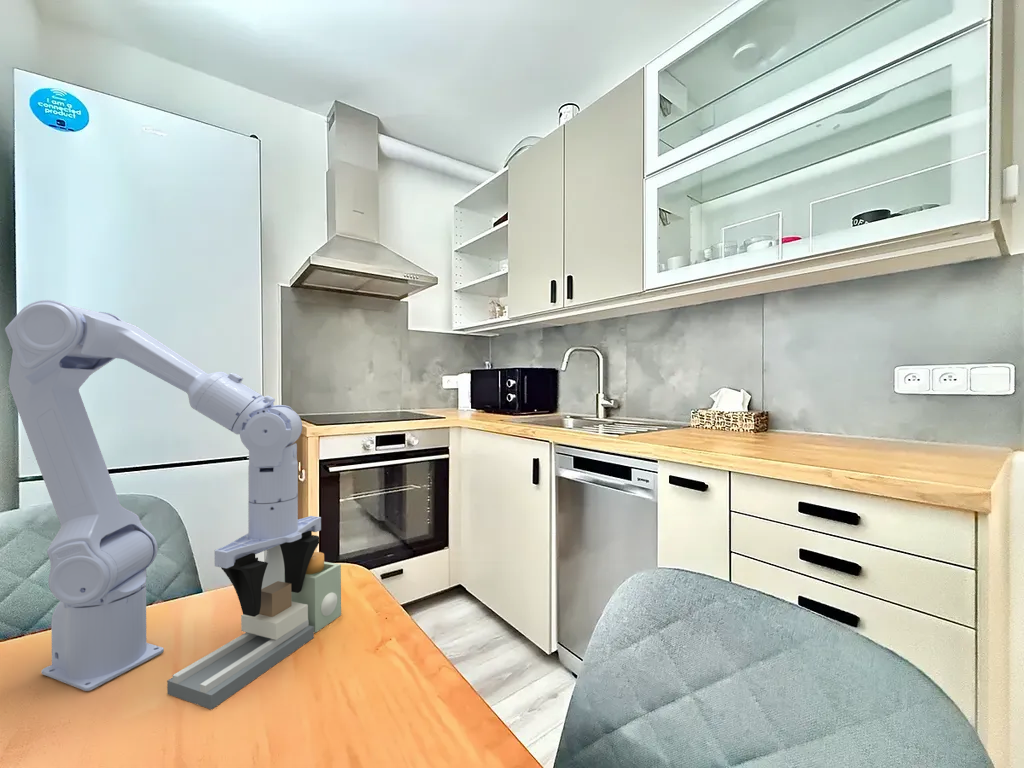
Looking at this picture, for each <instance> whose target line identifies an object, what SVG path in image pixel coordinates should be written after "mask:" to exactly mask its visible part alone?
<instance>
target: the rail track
mask: <svg viewBox="0 0 1024 768" xmlns="http://www.w3.org/2000/svg"><path fill="white" fill-rule="evenodd" d="M314 634H315V633H314V627H313V626H309V623H308V620H307V621H305V622H303V623H302V624H300V625H299V626H297V627H296V628H294V629H293V630H291V631H289V632H288V633H286V634H285V635H283V636H282V637H280V638H279V639H277V640H275V639H271V638H267V637H263V636H259V635H255V634H251V633H247V632H243V634H241V635H239V636H238V637H235V639H231V641H229V642H227V643H225V644H224V645H222V646H220V647H219V648H217V649H215V650H213V651H212V652H210V653H208V654H206V655H205V656H203V657H201V658H199V659H198V660H196V661H194V662H193V663H191V664H189V665H187V666H185V667H184V668H183V669H181V670H179V671H177V672H176V673H174V674H172V677H171V678H169V679H168V680H167V681H166V682H167V686H166V688H167V689H166V690H167V691H166V692H167V693H166V694H167V695H169V696H172V697H175V698H178V699H180V700H184V701H186V702H188V703H192V704H195V705H196V706H197V705H198V706H200V707H202V708H203V707H204V708H206V709H208V710H213V709H215V708H216V707H217V706H218V705H219V706H220V705H221V703H224V701H226V700H227V699H229V698H230V697H232V696H233V695H235V694H236V693H238V692H239V691H240V690H241V689H243V688H244V687H246V686H247V685H249V684H250V683H252V682H253V681H254V680H256V679H258V677H260V676H262V675H263V674H264V673H266V672H267V671H269V670H270V669H272V668H273V667H275V665H277V664H279V663H280V662H282V661H283V660H285V658H287V657H289V656H290V655H292V654H293V653H294V652H296V651H297V650H299V649H300V648H302V647H303V646H304V645H306V644H307V643H308V642H310V641H311V640H313V639H314V638H315V636H314Z"/></svg>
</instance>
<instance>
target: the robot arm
mask: <svg viewBox="0 0 1024 768" xmlns="http://www.w3.org/2000/svg"><path fill="white" fill-rule="evenodd" d="M4 331H5V334H6V336H7V338H8V340H9V345H10V347H11V349H12V354H11V360H10V368H9V375H8V387H9V390H10V393H11V396H12V399H13V401H14V404H15V406H16V409H17V411H18V415H19V417H20V419H21V422H22V425H23V428H24V430H25V433H26V436H27V438H28V439H27V440H28V441H29V444H30V446H31V449H32V452H33V454H34V458H35V460H36V462H37V465H38V468H39V470H40V473H41V475H42V479H43V481H44V484H45V487H46V489H47V491H48V492H47V493H48V494H49V497H50V500H51V502H52V505H53V509H54V510H55V513H56V514H55V515H56V516H57V518H58V522H59V523H60V524H59V525H60V527H59V530H58V531H57V533H56V535H55V536H54V538H53V539H52V541H51V543H50V544H49V546H48V548H47V550H46V553H47V555H48V558H49V562H50V570H49V575H48V579H47V581H48V583H47V584H48V588H49V589H50V592H51V594H52V595H53V597H55V598H56V599H57V601H60V602H59V603H58V604H57V605H56V606H55V609H54V611H53V613H52V616H51V623H50V624H51V625H50V626H51V664H50V665H48V666H46V667H44V668H42V669H41V671H40V672H41V674H42V675H44V676H47V677H49V678H51V679H54V680H57V681H59V682H61V683H65V684H67V685H68V686H71V687H75V688H77V689H79V690H83V691H85V692H89V691H92V690H94V689H96V688H98V687H99V686H101V685H103V684H106V683H107V682H109V681H111V680H113V679H115V678H117V677H118V676H121V675H122V674H124V673H127V672H128V671H130V670H132V669H134V668H136V667H138V666H139V665H141V664H143V663H146V662H147V661H149V660H151V659H153V658H155V657H156V656H159V655H161V654H162V653H163V652H164V651H165V650H164V647H162V646H158V645H155V644H153V643H149V642H147V569H148V568H149V567H150V566H151V565H152V564H153V563H154V562H155V559H156V558H157V555H158V550H159V549H158V546H159V545H158V542H157V540H156V537H155V535H153V534H152V533H151V532H150V531H149V530H148V529H146V528H145V527H144V526H143V524H142V522H141V519H140V516H139V515H138V514H136V513H135V512H134V511H131V510H129V509H127V508H125V507H124V506H122V504H120V503H121V502H120V500H119V498H118V497H119V496H118V495H117V491H116V489H115V486H114V484H113V483H114V482H113V481H112V478H111V476H110V473H109V470H108V468H107V465H106V461H105V459H104V457H103V453H102V450H101V448H100V445H99V443H98V441H97V440H98V439H97V438H96V434H95V432H94V428H93V426H92V424H91V421H90V418H89V416H88V412H87V410H86V406H85V405H84V402H83V400H82V399H83V398H82V396H81V393H80V388H81V387H82V386H83V385H84V383H85V382H86V381H87V380H88V379H89V377H90V376H91V375H93V374H94V373H96V372H97V371H99V370H100V369H102V368H104V367H105V366H107V365H108V364H109V363H110V362H111V363H112V361H114V360H115V359H120V360H124V361H127V362H129V363H131V364H132V365H134V366H136V367H138V368H140V369H142V370H144V371H146V372H148V373H149V374H150V375H151V374H152V375H153V376H155V377H157V378H159V379H160V380H163V381H164V382H166V383H168V384H170V385H172V386H173V387H175V388H176V389H177V388H178V389H179V390H181V391H183V392H184V393H186V394H187V397H188V398H187V399H188V402H189V406H190V408H191V409H192V410H195V411H197V412H198V413H199V414H202V415H203V416H204V417H206V418H208V419H209V420H212V421H213V422H215V423H217V424H219V425H220V426H222V427H223V428H225V429H227V430H228V431H230V432H232V433H233V434H235V435H239V437H240V441H241V443H242V445H243V446H244V447H245V448H246V449H247V450H248V479H247V480H248V500H247V501H248V503H247V504H248V506H247V508H248V512H247V513H248V515H247V517H248V521H247V522H248V527H247V528H248V533H246V534H244V535H243V536H240V537H239V538H237V539H236V540H234V541H233V540H232V541H231V542H229V543H228V544H226V545H224V546H222V547H219V548H217V549H215V550H214V567H217V568H221V570H222V571H223V572H224V574H225V575H226V577H227V578H228V579H229V581H230V582H231V584H232V586H233V588H234V590H235V593H236V595H237V598H238V600H239V601H238V602H239V604H240V608H241V612H242V615H243V614H245V615H249V616H253V617H255V616H257V615H258V614H259V613H260V608H261V589H262V582H263V577H264V574H265V570H266V568H267V565H268V563H267V562H265V561H261V560H259V557H256V555H257V554H260V553H262V552H266V551H267V550H268V549H270V548H273V547H275V546H278V545H280V547H281V551H282V555H283V560H284V568H285V583H291V592H295V593H299V592H300V591H301V590H302V586H303V582H304V578H305V574H306V571H307V568H308V565H309V562H310V560H311V557H312V555H313V553H314V552H316V549H317V548H318V546H319V544H320V536H319V535H315V534H312V533H317V532H320V531H322V517H321V516H314V515H308V516H307V517H303V518H299V515H298V514H299V510H298V509H299V507H298V506H299V503H298V501H299V496H298V495H299V494H298V493H299V491H298V490H299V488H298V486H299V482H298V481H299V479H298V478H299V472H298V471H299V469H298V467H299V464H298V463H299V461H298V456H297V455H298V445H297V443H296V441H297V440H299V438H300V436H301V434H302V431H303V421H302V419H301V417H300V415H299V414H298V413H297V412H296V411H295V410H293V408H292V407H291V406H289V405H285V404H277V405H274V403H275V401H276V399H275V398H274V397H273V396H271V395H265V396H264V395H262V394H261V393H259V392H257V391H256V390H254V389H253V388H251V387H249V386H248V385H246V384H244V383H242V381H243V380H244V378H243V377H242V376H241V375H239V374H238V373H236V372H230V373H227V372H225V371H214V372H211V373H210V372H209V373H207V372H206V371H204V370H203V369H202V368H200V367H199V366H197V365H196V364H193V363H192V362H191V361H189V360H188V359H187V358H185V357H184V356H182V355H181V354H179V353H177V352H176V351H175V350H173V349H172V348H171V347H169V346H167V345H165V344H164V343H162V342H160V340H158V339H156V338H155V337H153V336H152V335H150V334H149V333H147V332H146V331H145V330H143V329H142V328H140V327H138V326H137V325H134V324H133V323H129V322H127V321H124V320H123V319H122V318H120V317H119V316H117V315H115V314H112V313H110V312H104V311H96V310H92V309H91V310H90V309H86V308H82V307H78V306H73V305H70V304H66V303H64V302H62V301H58V300H51V299H42V300H36V301H34V302H31V303H29V304H27V305H26V306H24V307H23V308H22V309H21V310H20V311H19V312H18V313H17V315H15V317H13V319H12V320H11V321H10V322H9V323H8V325H7V326H6V327H5V328H4ZM298 518H299V519H298Z"/></svg>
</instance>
